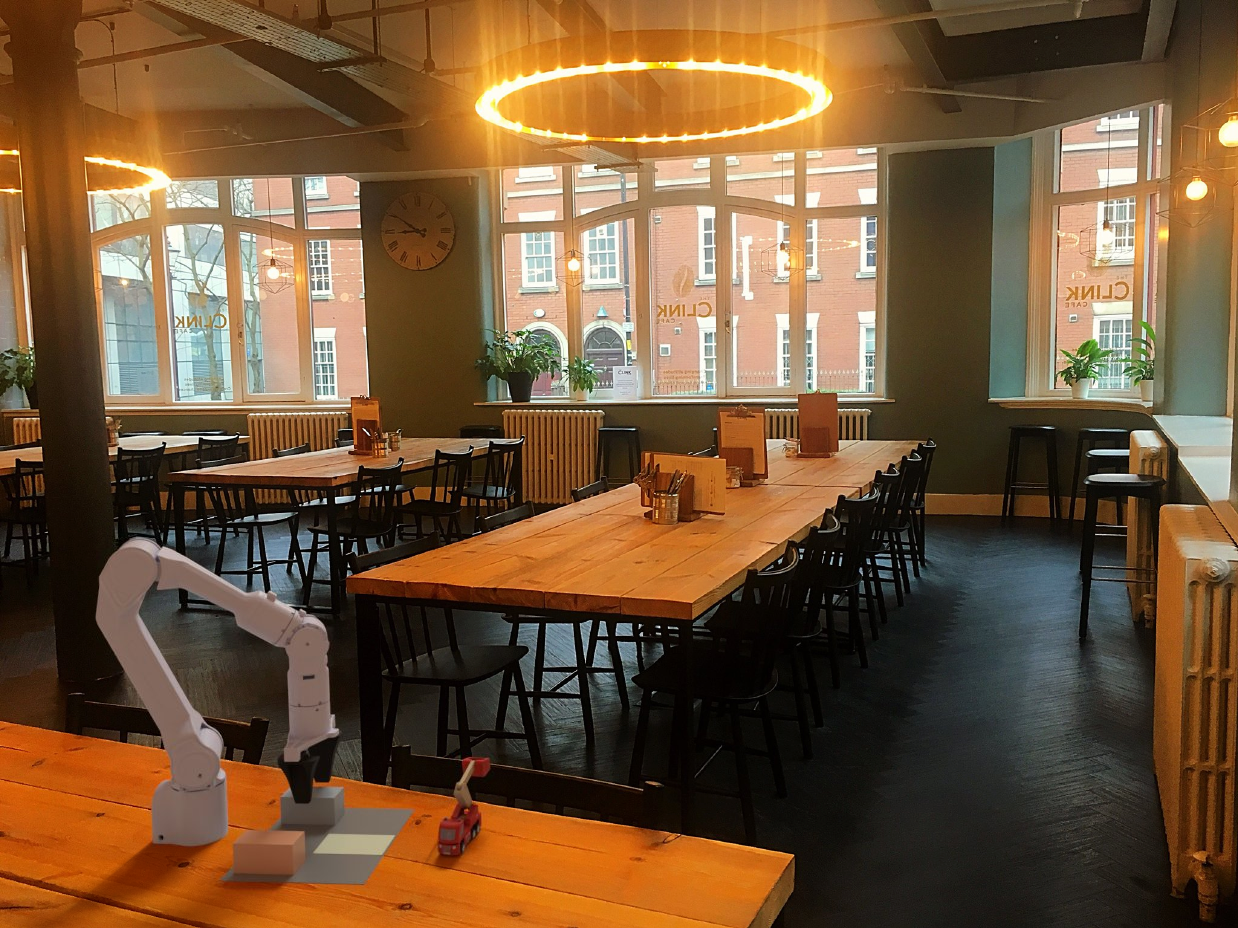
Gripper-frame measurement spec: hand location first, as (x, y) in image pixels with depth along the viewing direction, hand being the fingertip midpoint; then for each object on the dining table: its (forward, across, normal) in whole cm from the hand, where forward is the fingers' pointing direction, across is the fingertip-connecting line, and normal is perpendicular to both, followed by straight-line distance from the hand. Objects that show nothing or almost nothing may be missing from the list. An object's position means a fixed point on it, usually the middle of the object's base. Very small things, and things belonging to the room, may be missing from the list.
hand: (313, 792), depth 147 cm
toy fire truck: (+6, -2, -23) cm, 24 cm away
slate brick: (+4, 0, 0) cm, 4 cm away
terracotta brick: (+4, -15, 0) cm, 15 cm away
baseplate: (+5, -8, -4) cm, 10 cm away
